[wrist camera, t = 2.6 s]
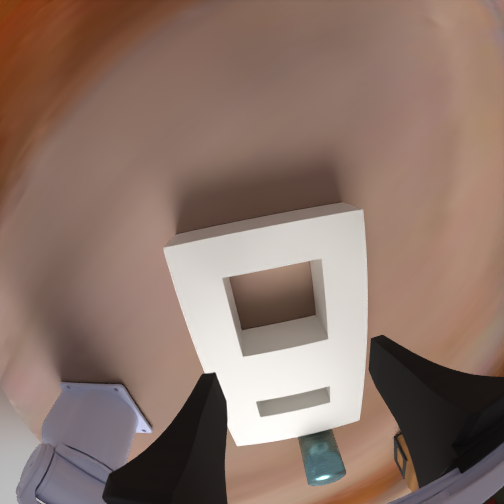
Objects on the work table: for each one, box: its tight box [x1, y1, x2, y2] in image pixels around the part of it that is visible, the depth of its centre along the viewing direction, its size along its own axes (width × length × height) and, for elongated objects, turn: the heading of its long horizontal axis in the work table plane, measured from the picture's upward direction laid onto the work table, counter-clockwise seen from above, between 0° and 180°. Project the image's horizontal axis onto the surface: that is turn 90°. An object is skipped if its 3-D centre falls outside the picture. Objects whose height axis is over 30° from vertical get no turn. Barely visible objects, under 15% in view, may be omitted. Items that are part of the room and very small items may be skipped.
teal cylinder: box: [298, 429, 346, 486], centre depth 23 cm, size 4×4×7 cm
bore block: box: [163, 202, 368, 446], centre depth 20 cm, size 12×20×4 cm, turn 11°
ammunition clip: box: [394, 433, 419, 492], centre depth 24 cm, size 11×2×12 cm, turn 23°
